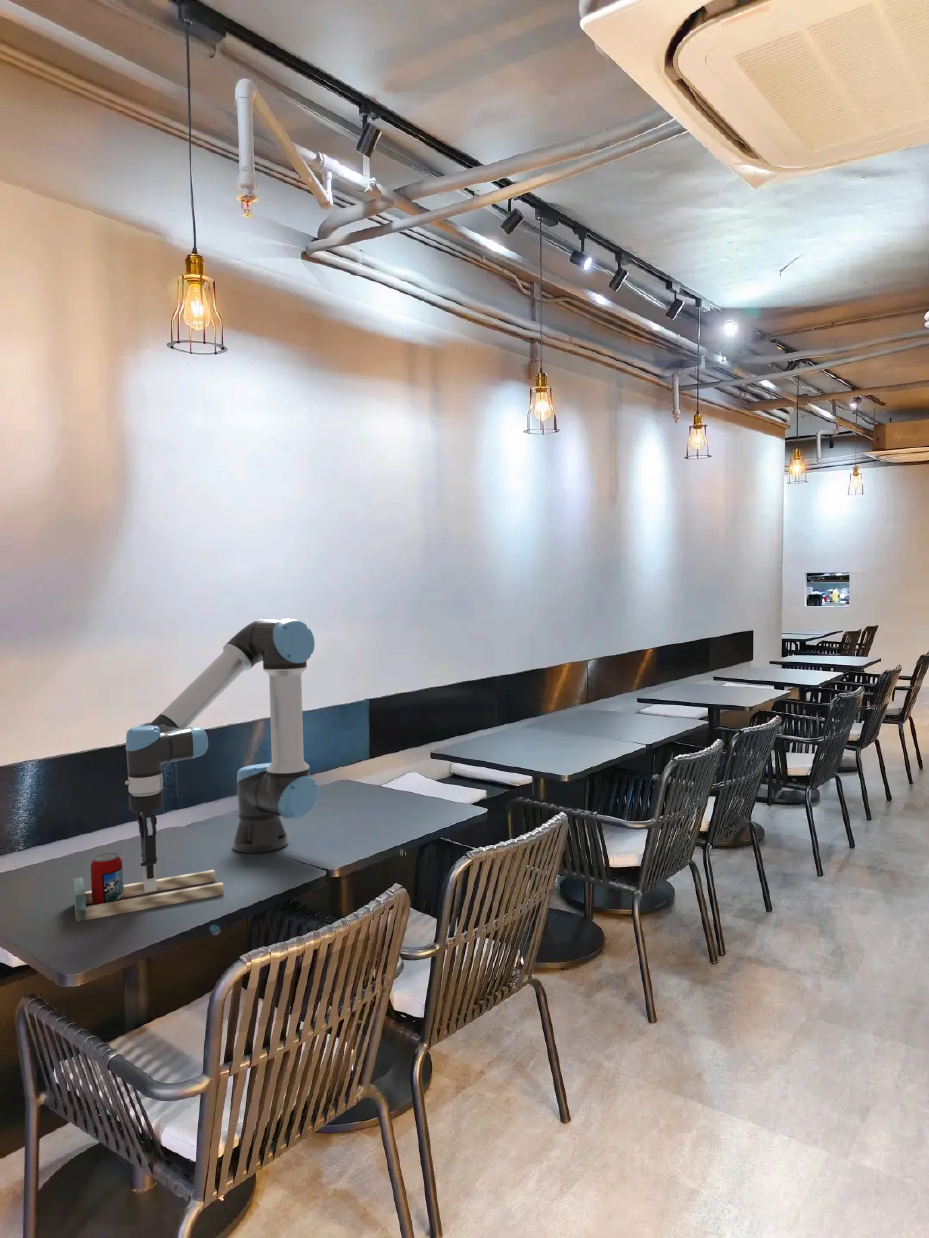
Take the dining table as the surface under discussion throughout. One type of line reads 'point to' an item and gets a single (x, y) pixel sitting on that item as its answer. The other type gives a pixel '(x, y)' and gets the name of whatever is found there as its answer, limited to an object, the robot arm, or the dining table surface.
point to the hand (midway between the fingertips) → (150, 890)
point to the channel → (146, 901)
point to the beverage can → (107, 878)
